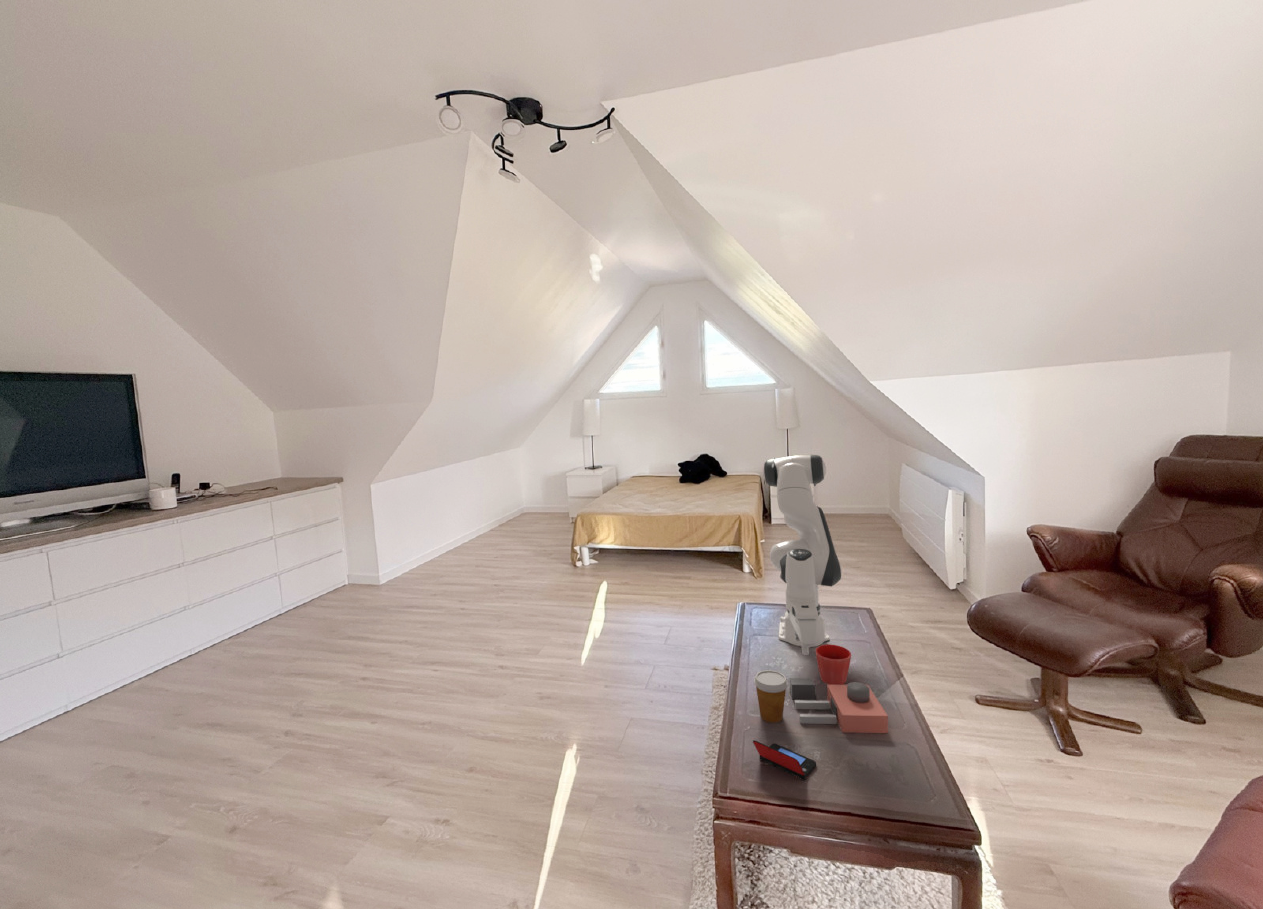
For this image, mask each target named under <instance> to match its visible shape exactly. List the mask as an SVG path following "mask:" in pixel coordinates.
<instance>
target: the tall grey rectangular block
mask: <svg viewBox="0 0 1263 909" xmlns="http://www.w3.org/2000/svg"><path fill="white" fill-rule="evenodd" d="M789 694H790V697H791V700H792V701H795V700H807V701H817V700H816V699H817V698H816V696H817V694H816V684H815V681H814V679H813V678H812V677H789Z"/></svg>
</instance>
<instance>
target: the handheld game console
mask: <svg viewBox="0 0 1263 909" xmlns="http://www.w3.org/2000/svg"><path fill="white" fill-rule="evenodd" d="M752 744H753V746H754V747H755V749H756V751H757V753H758V754H759V760H760V761H762V762H764V761H765V763H766V764H768V765H771V766H773V767H776V768H780V769H782V770H784V771H785V772H786V771H787V772H788V773H787V774H790V775H792V774H793V775H792V776H794V775H795V776H794V777H796V776H797V777H796V778H798V777H799V778H801V779H800V780H802V779H803V780H802V781H805V780H806V779H807V778H809V777H808V776H809V775H810V774H811V773H812V772H813V771H814V770H815V768H816V767H817V762H816V761H815V760H814V759H811V758H809V757H807V756H804V755H802V754H800V753H798V752H796V751H794V750H792V749H789V748H787V747H785V746H782V745H781V744H778V743H772V744H770V745H766V744H764V743H762V742H760V741H757V740H754V739H753V740H752ZM799 778H798V779H799Z"/></svg>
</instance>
